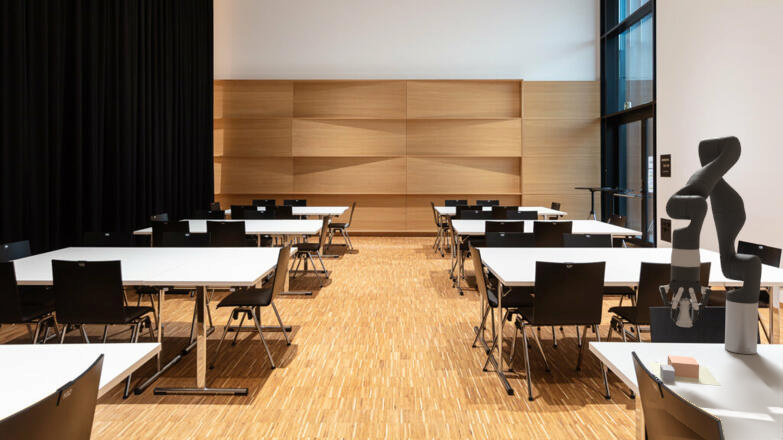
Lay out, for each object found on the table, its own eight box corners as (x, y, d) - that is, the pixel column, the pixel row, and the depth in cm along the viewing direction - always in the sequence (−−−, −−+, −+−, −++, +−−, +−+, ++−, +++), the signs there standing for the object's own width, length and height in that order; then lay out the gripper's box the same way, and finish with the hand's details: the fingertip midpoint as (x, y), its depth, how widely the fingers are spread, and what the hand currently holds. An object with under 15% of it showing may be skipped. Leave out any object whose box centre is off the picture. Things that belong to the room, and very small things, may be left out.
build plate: (649, 365, 168) (649, 362, 168) (706, 370, 163) (706, 367, 163) (657, 383, 153) (657, 379, 153) (720, 389, 148) (720, 385, 148)
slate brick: (660, 374, 157) (660, 364, 157) (671, 375, 156) (671, 365, 156) (663, 380, 152) (663, 369, 152) (674, 381, 151) (675, 370, 151)
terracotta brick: (667, 368, 162) (667, 355, 162) (693, 370, 160) (693, 357, 160) (671, 375, 155) (672, 362, 155) (698, 378, 153) (699, 364, 153)
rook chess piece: (695, 327, 154) (695, 300, 154) (678, 327, 155) (678, 300, 155) (689, 323, 159) (690, 297, 158) (673, 323, 159) (673, 297, 159)
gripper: (709, 262, 157) (708, 320, 158) (656, 261, 162) (655, 316, 163) (716, 266, 150) (715, 326, 151) (660, 264, 154) (659, 322, 155)
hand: (684, 321), depth 157 cm, fingers closed on rook chess piece, 4 cm apart
